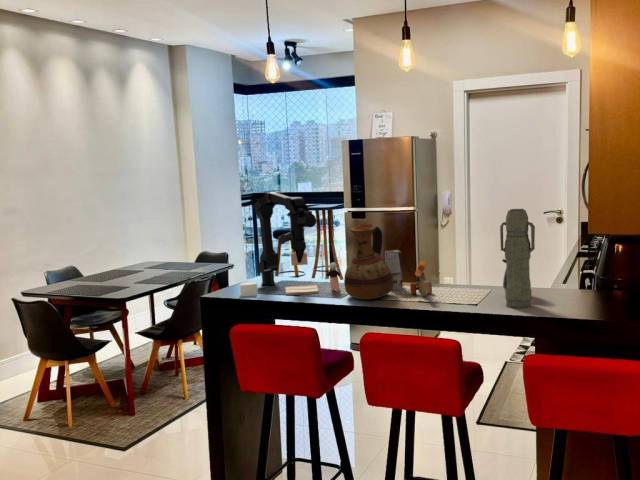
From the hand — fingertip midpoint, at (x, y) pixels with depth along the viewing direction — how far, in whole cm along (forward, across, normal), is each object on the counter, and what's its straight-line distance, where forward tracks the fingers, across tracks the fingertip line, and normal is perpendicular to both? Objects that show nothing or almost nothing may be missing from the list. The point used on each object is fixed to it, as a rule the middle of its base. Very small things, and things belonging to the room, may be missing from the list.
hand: (299, 261), depth 272 cm
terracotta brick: (+1, 0, 0) cm, 1 cm away
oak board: (+13, 0, 0) cm, 13 cm away
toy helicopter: (+14, +28, +48) cm, 57 cm away
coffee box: (+13, +7, +40) cm, 43 cm away
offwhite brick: (+13, 0, -23) cm, 26 cm away
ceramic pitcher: (+13, +21, +27) cm, 37 cm away
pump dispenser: (+14, +37, +82) cm, 92 cm away
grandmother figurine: (+13, +5, +14) cm, 20 cm away
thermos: (+14, +52, +78) cm, 95 cm away
